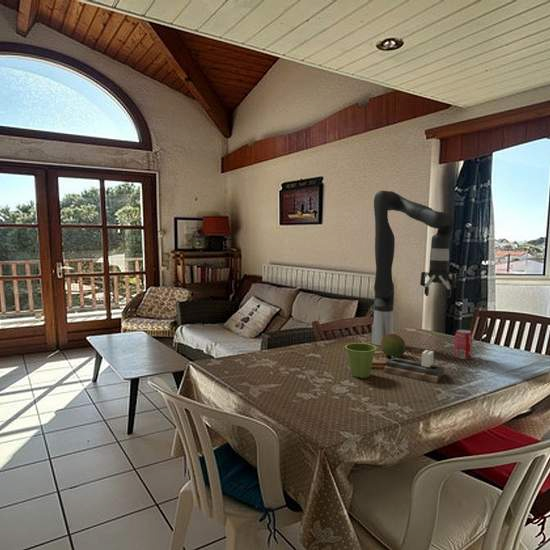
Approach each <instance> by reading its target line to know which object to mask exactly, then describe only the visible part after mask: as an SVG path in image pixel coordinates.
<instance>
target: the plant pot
mask: <svg viewBox="0 0 550 550" xmlns="http://www.w3.org/2000/svg"><path fill="white" fill-rule="evenodd" d="M344 348H345V349H346V354H347V357H348V363H349V369H350V370H349V371H350V375H351V376H352V377H354V378H360V379H364V378H365V379H367V378H369V377H370V375H371V372H372V366H373V359H374V356H375V353H376V352H375V351H376V350H377V346H376V345H375V344H372V343H371V344H370V343H366V342H365V343H362V342H354V343H349V344H346V345H345V346H344Z"/></svg>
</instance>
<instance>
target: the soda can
mask: <svg viewBox="0 0 550 550" xmlns="http://www.w3.org/2000/svg"><path fill="white" fill-rule="evenodd" d="M453 347H454V350H453V352H454V357H456V358H457V359H460V360H468V359H470V358H472V355H473V354H472V353H473V334H472V331H471V330H467V329H456V332H455V334H454V345H453Z"/></svg>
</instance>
